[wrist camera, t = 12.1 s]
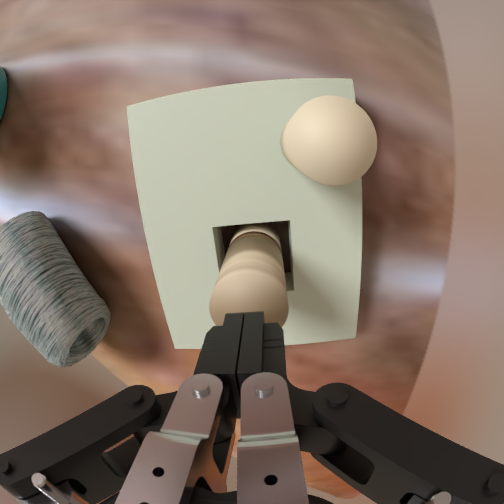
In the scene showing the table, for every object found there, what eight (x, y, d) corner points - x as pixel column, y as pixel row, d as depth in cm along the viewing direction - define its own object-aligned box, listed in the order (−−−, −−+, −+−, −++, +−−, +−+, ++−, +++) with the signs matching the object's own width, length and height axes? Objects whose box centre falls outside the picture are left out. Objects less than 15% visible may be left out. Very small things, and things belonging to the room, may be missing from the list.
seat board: (144, 110, 18) (71, 95, 10) (340, 87, 17) (391, 50, 9) (184, 327, 24) (152, 403, 16) (346, 316, 23) (377, 394, 15)
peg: (228, 223, 21) (202, 276, 12) (278, 219, 21) (286, 270, 12) (234, 269, 22) (216, 342, 14) (282, 265, 22) (290, 338, 13)
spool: (142, 337, 21) (38, 396, 13) (104, 339, 27) (29, 378, 19) (82, 180, 20) (-28, 208, 12) (59, 221, 26) (-20, 246, 18)
